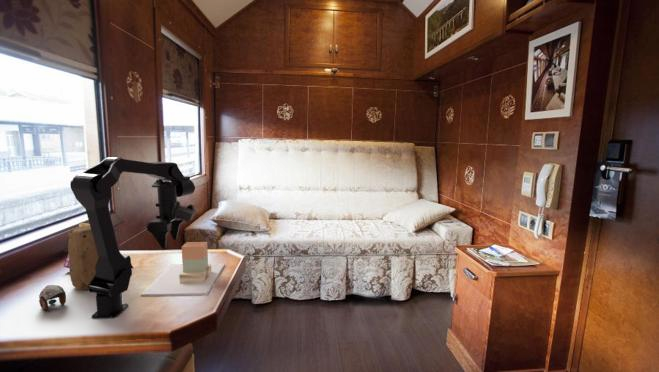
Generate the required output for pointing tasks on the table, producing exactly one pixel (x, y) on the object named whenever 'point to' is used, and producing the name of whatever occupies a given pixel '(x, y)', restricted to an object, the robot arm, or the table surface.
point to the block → (82, 256)
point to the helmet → (51, 296)
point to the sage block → (195, 265)
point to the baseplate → (171, 283)
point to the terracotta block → (194, 250)
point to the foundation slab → (195, 276)
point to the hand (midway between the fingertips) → (169, 244)
